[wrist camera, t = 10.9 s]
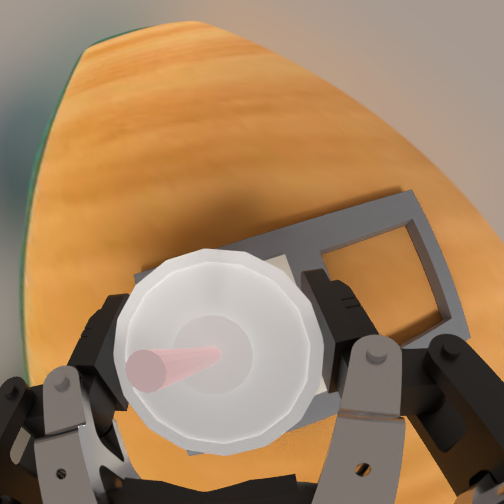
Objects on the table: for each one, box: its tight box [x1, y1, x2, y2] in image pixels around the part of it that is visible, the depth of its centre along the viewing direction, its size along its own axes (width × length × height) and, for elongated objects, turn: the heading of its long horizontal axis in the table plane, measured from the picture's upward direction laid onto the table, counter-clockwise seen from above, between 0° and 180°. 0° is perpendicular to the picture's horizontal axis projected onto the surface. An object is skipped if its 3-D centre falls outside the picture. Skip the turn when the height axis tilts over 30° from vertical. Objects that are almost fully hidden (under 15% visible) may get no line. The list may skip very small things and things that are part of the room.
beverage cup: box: [113, 249, 324, 456], centre depth 9 cm, size 6×6×14 cm
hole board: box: [134, 190, 471, 456], centre depth 20 cm, size 24×14×2 cm, turn 108°
